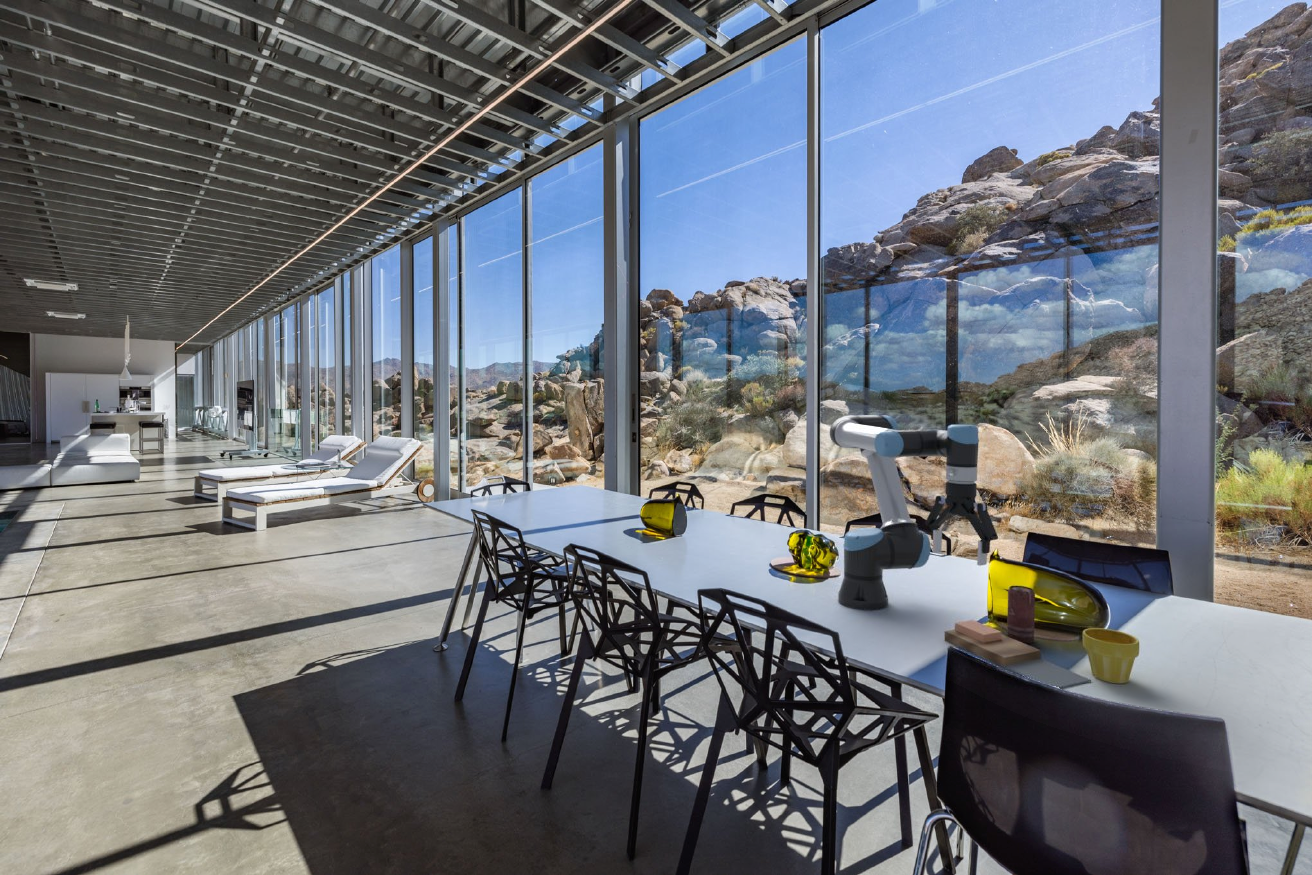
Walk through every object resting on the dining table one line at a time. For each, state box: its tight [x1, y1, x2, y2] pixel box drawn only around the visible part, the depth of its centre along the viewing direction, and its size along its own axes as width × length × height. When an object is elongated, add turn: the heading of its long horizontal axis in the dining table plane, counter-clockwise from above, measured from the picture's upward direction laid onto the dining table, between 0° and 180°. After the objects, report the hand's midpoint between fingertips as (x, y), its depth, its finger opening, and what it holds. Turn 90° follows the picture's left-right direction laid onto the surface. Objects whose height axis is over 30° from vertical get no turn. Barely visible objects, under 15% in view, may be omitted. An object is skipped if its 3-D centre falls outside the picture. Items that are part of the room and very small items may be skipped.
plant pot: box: [1082, 627, 1140, 685], centre depth 135 cm, size 10×10×10 cm
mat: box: [1004, 658, 1092, 689], centre depth 137 cm, size 12×12×1 cm
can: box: [1006, 585, 1036, 645], centre depth 157 cm, size 6×6×14 cm
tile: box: [954, 619, 1002, 643], centre depth 155 cm, size 9×6×2 cm, turn 19°
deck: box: [944, 628, 1042, 669], centre depth 151 cm, size 18×12×2 cm, turn 19°
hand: (958, 558), depth 161 cm, fingers open, 13 cm apart
